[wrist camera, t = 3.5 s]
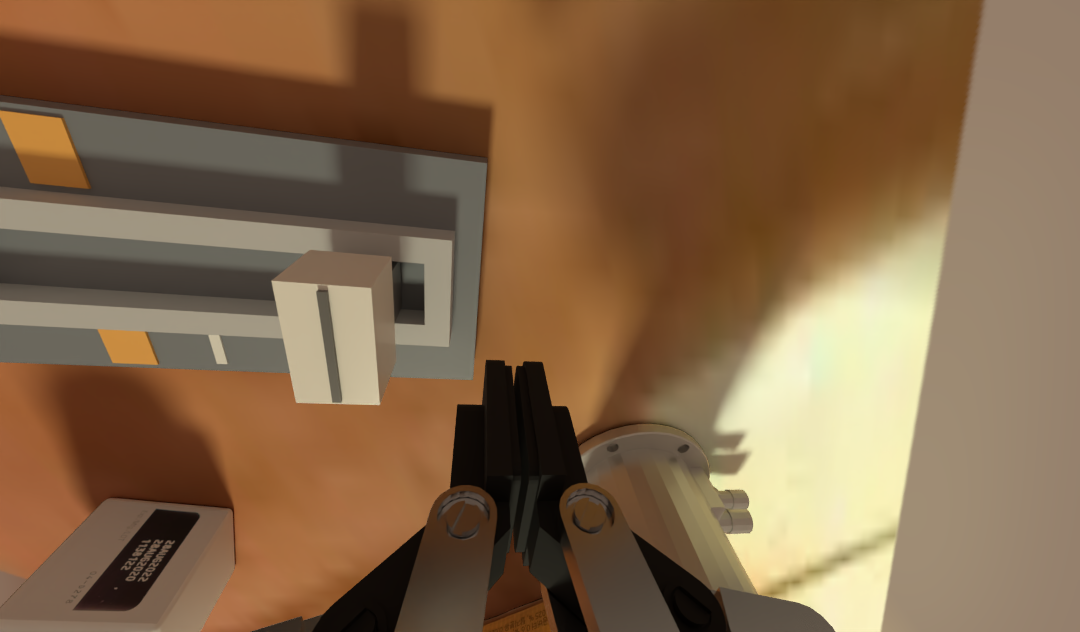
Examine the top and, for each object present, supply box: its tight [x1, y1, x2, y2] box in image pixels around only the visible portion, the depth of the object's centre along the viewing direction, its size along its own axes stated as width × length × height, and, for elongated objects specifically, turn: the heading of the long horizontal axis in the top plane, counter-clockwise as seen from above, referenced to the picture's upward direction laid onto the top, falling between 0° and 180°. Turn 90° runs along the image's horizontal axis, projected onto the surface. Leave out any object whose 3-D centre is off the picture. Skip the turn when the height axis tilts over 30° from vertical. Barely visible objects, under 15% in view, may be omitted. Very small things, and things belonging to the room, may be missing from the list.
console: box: [0, 95, 487, 380], centre depth 18 cm, size 24×12×4 cm, turn 82°
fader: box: [271, 250, 402, 405], centre depth 16 cm, size 3×5×6 cm, turn 172°
